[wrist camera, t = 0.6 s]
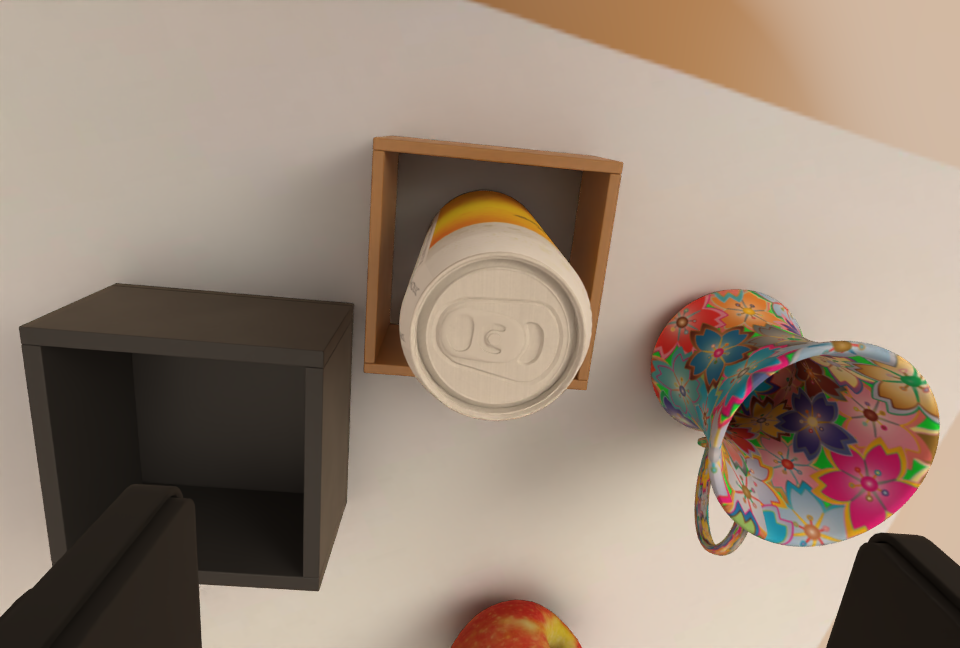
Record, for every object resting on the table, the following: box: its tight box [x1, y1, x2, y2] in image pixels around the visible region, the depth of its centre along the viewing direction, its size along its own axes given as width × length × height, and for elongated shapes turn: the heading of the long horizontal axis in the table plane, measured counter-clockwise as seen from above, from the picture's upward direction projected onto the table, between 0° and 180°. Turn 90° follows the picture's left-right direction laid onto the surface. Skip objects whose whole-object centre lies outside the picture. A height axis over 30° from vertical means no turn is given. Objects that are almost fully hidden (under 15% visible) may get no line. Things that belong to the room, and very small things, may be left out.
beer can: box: [399, 191, 592, 421], centre depth 25 cm, size 6×6×15 cm
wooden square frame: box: [364, 136, 623, 390], centre depth 30 cm, size 10×10×6 cm
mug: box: [651, 289, 940, 556], centre depth 30 cm, size 12×9×11 cm
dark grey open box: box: [19, 283, 354, 591], centre depth 31 cm, size 13×13×8 cm
